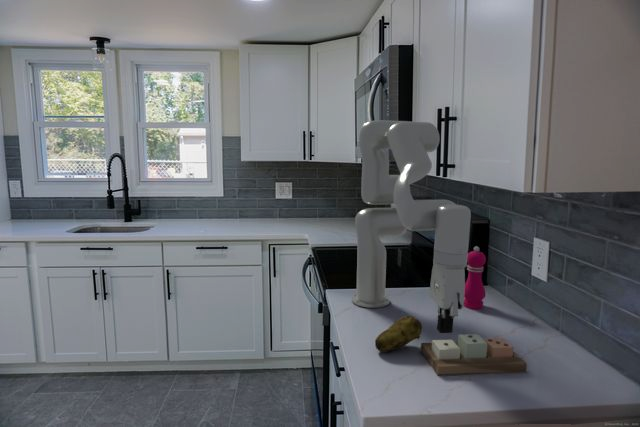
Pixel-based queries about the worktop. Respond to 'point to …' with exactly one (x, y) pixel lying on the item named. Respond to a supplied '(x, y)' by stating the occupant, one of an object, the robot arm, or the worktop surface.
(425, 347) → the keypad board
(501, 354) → the three-pip tile
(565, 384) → the worktop surface
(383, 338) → the potato
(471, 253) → the pepper mill
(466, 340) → the two-pip tile
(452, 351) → the one-pip tile
